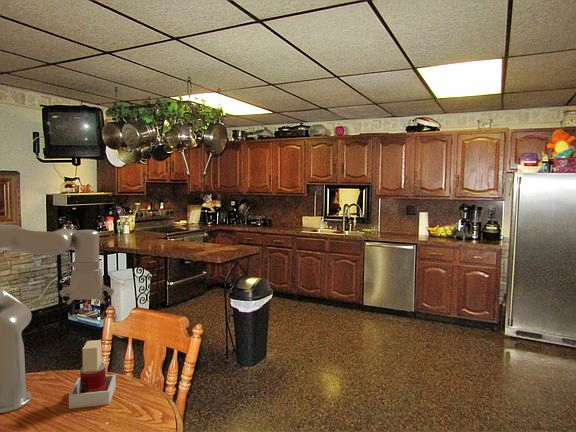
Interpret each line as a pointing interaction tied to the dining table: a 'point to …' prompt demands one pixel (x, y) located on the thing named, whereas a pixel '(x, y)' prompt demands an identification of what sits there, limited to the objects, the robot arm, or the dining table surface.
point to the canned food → (93, 380)
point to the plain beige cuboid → (92, 355)
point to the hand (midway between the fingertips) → (87, 314)
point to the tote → (92, 394)
